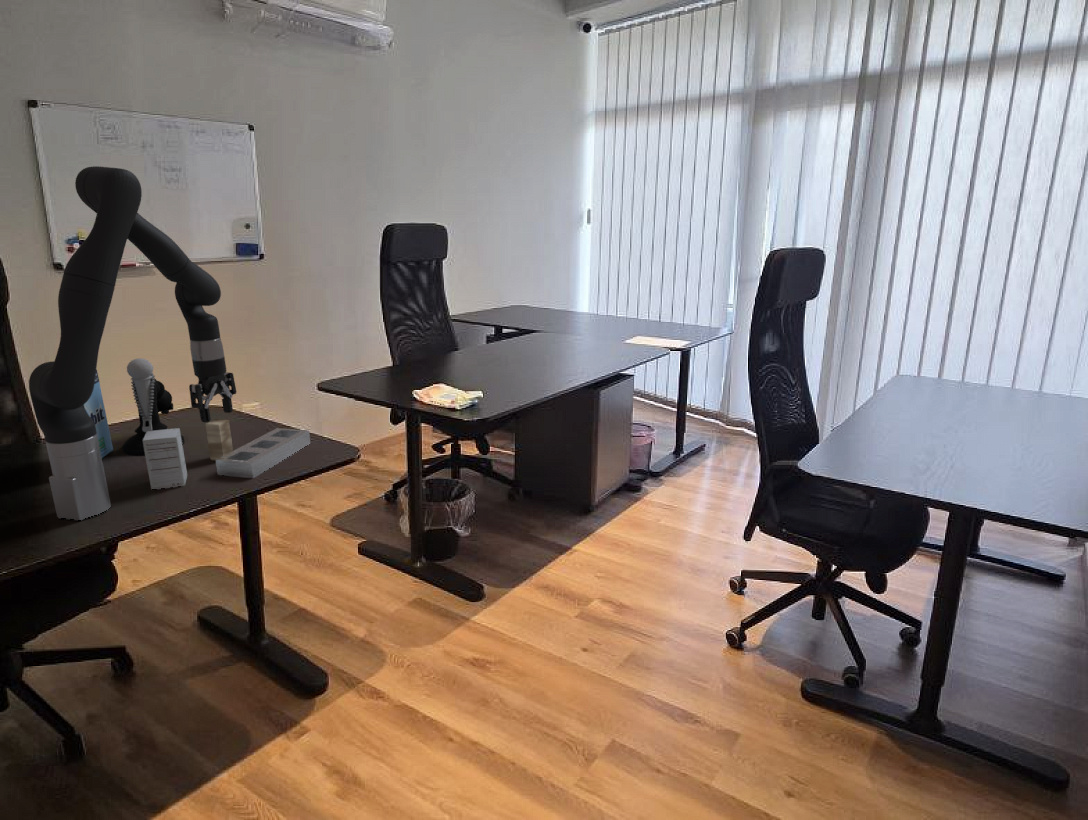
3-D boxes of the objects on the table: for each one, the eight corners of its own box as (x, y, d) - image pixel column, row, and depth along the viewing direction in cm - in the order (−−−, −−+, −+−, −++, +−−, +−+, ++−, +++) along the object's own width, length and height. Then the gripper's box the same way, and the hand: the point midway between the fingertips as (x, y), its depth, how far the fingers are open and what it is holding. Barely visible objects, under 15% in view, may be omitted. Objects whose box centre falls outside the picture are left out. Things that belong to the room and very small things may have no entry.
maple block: (224, 461, 184) (218, 424, 181) (210, 459, 185) (205, 423, 182) (233, 455, 188) (228, 420, 185) (220, 454, 189) (215, 419, 186)
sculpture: (115, 457, 187) (97, 365, 180) (140, 430, 209) (125, 348, 202) (177, 452, 191) (163, 362, 184) (195, 426, 213) (183, 345, 206)
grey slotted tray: (253, 478, 172) (251, 463, 171) (217, 475, 175) (215, 459, 174) (310, 444, 197) (309, 430, 196) (278, 441, 199) (277, 428, 198)
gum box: (80, 476, 174) (61, 386, 168) (57, 477, 174) (38, 387, 167) (114, 449, 193) (98, 368, 186) (94, 450, 192) (77, 369, 186)
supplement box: (154, 479, 172) (146, 430, 168) (188, 475, 174) (180, 427, 171) (150, 490, 165) (141, 440, 162) (185, 486, 168) (177, 436, 164)
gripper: (201, 363, 171) (211, 426, 176) (238, 350, 184) (247, 410, 189) (175, 362, 173) (186, 424, 178) (214, 349, 186) (223, 408, 191)
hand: (217, 417), depth 183 cm, fingers open, 8 cm apart
